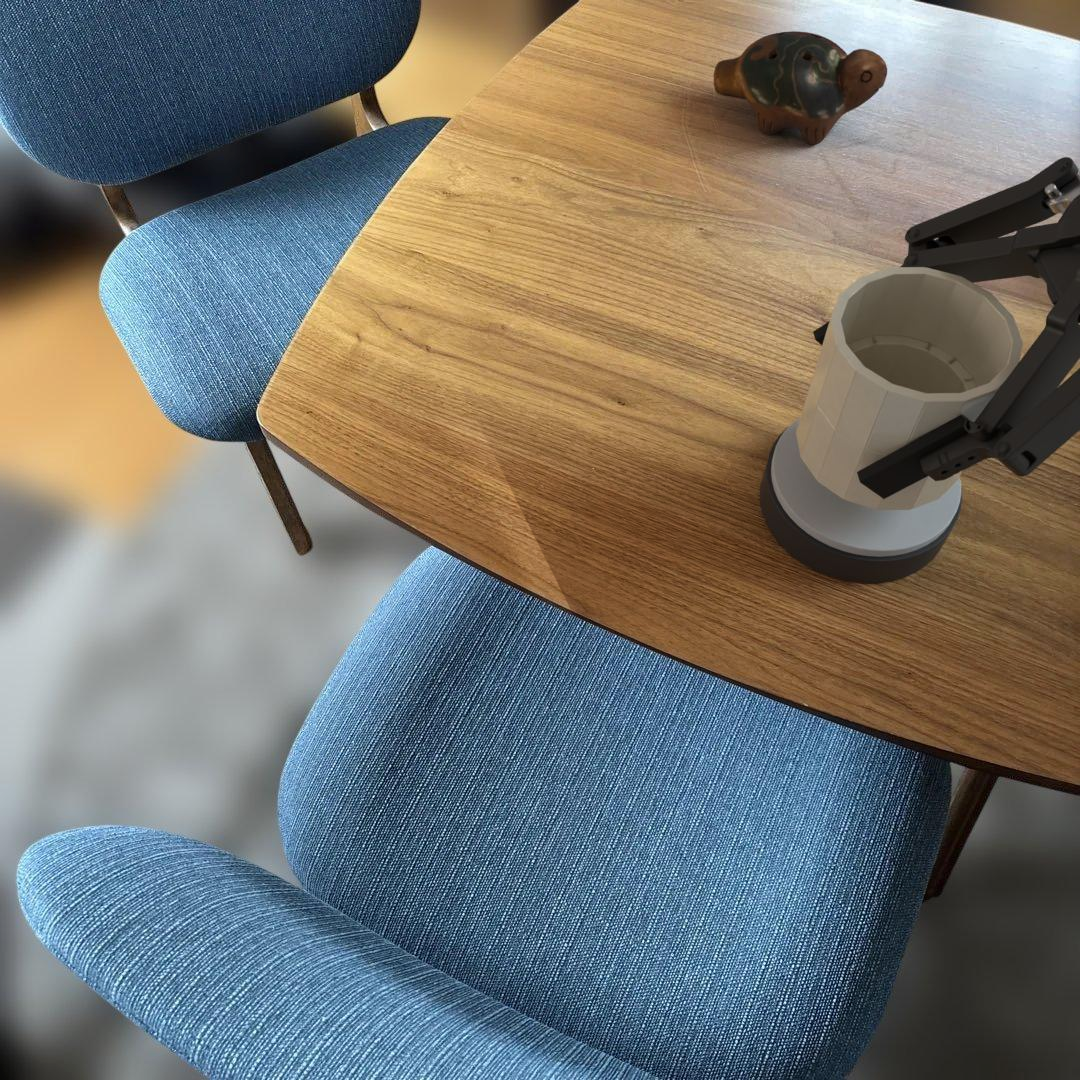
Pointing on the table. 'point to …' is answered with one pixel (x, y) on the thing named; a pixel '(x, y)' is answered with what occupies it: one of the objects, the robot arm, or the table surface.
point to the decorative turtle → (800, 81)
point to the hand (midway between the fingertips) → (846, 412)
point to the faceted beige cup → (901, 375)
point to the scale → (848, 523)
